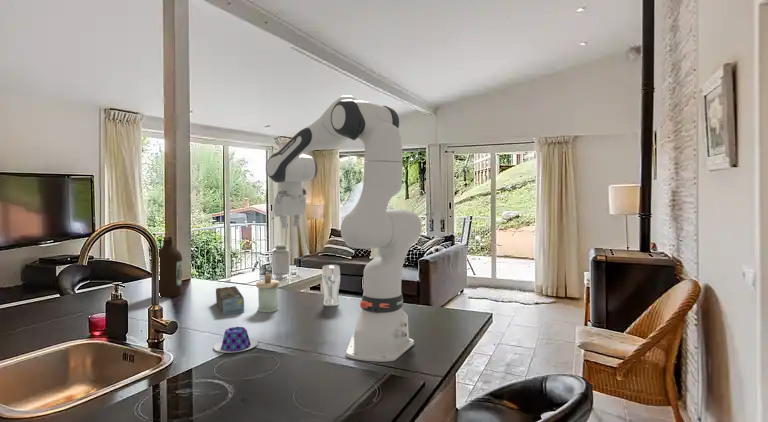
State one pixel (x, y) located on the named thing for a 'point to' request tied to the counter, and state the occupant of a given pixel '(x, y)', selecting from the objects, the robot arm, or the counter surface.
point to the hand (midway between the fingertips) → (290, 227)
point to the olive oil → (170, 270)
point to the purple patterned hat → (235, 340)
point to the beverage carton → (229, 300)
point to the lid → (267, 282)
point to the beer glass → (331, 284)
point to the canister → (268, 299)
